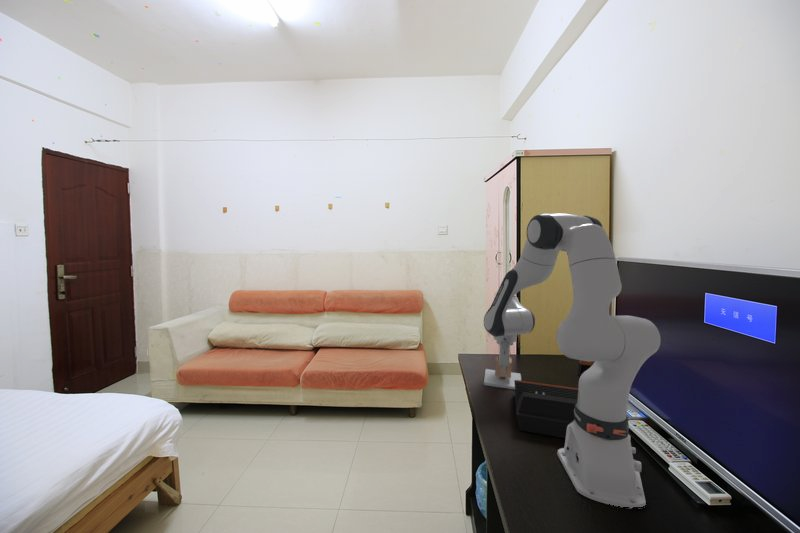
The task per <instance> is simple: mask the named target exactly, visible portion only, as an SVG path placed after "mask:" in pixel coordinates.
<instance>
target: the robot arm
mask: <svg viewBox="0 0 800 533" xmlns="http://www.w3.org/2000/svg"><path fill="white" fill-rule="evenodd" d="M526 238H527V239H526V241H525V243H524V246H523V248H522V251H521V255H520V258H519V259H518V261H517V262H516V264H515V265H514V266H513V268H512V269H511V270H509V271H508V272H507V273H506V274H505V276H504V277H503V278H502V282H500V285H499V287H498V290H497V292H496V293H495V297H494V299H493V300H492V303H491V305H490V306H489V308H488V310H487V311H486V312H485V314H484V316H483V326H484V329H485V330H486V332H487V333H488V334H489V335H491V336H492V337H493V340H495V341H496V344H497V345H499V346H498V347H499V355H498V356H499V365H500V366H501V373H506V366H509V357H510V354H511V353H510V352H511V350H510V349H511V346H514V343H516V342H517V341H518V340H517V339H518V335H527V334H530V333H531V332H532V331H534V328H535V325H536V318H535V315H534V313H533V312H532V310H530V309H529V308H526V307H525V306H523V304H521V303H520V301H519V297H517V295H516V294H518V293H519V292H520V291H522V290H524V289H525V290H526V289H527V288H530V287H533V286H536V285H539V284H541V283H543V282H545V281H547V280H548V279H549V278H550V276H551V274H552V273H553V270H554V268H555V266H556V263H557V260H558V255H559V254H560V252H566V255H567V259H568V260H567V261H568V267H569V271H570V272H569V274H570V278H571V284H572V292H573V295H572V296H573V297H572V302H571V303H572V305H571V306H570V307H571V308H570V310H569V312H568V315H567V316H566V317H565V319H563V321H562V322H561V323H560V324H559V325H558V328H557V331H556V334H555V336H556V337H555V338H556V343H557V346H558V348H559V350H560V351H561V353H562V354H563V355H564V356H565V357H567V358H568V359H571V360H575V361H579V360H581V361H595V362H594V364H593V365H592V366H591V367H590V368H589V369H588V370H586V371H585V372H584V373H583V374H582V375H581V377H580V376H579V379H578V387H577V388H578V400H577V403H576V405H575V409H574V421H573V422H572V423H570V424H569V425H568V426H567V431H566V438H564V439H565V440H564V441H565V442H564V447H561V448H559V449H557V452H556V455H557V458H558V459H559V460H560V462H561V464H562V466H563V468H564V470H565V471H566V473H567V476H568V477H569V480H571V483H572V485H573V486H574V488H575V490H576V492H577V493H579V494H580V495H582V496H584V497H586V498H587V499H590V500H593V501H595V502H598V503H601V504H602V503H603V504H605V505H609V504H610V506H613V505H614V506H613V507H618V506H620V507H619V508H623V507H629V508H628V509H632V508H633V507H643V506H645V505H646V506H647V504H646V502H647V500H646V497H645V492H644V488H643V483H642V479H641V474H640V473H641V472H642V467H643V466H642V462H641V461H639V460H636V459H634V455H633V454H636V452H637V449H636V447H633V446H632V442H631V438H632V437H631V435H630V434H629V428H630V425H629V417H628V415H627V414H628V405H629V398H630V391H631V388H632V385H633V382H634V380H635V378H636V376H637V374H638V373H639V371H640V369H641V367H642V366H643V365H644V364H645V362H646V361H647V360H648V359H649V358H650V357H651V356H653V355H654V354H655V353H657V352H658V350H659V349H660V347H661V334H660V331H659V329H658V328H657V326H656V324H655V323H653V322H652V321H651V320H649V319H648V318H643V317H638V316H634V315H626V314H625V315H610V305H611V304H612V303H611V302H612V301H613V300H614V299H615V298H616V297H618V296H619V295H620V293H621V291H622V288H623V286H622V281H621V276H620V272H619V268H618V263H617V259H616V255H615V251H614V248H613V246H612V243H611V241H610V238H609V236H608V234H607V232H606V230H605V228H604V226H603V224H602V223H601V221H600V220H599V219H597V218H595V217H593V216H588V215H577V214H570V213H562V212H561V213H548V212H547V213H540V214H536V215H534V216H532V217H531V219H530V220H529V222H528V224H527V228H526Z"/></svg>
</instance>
